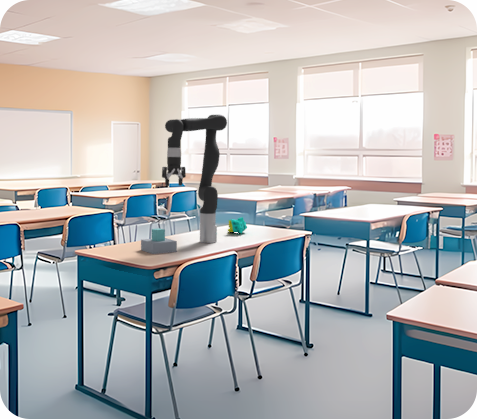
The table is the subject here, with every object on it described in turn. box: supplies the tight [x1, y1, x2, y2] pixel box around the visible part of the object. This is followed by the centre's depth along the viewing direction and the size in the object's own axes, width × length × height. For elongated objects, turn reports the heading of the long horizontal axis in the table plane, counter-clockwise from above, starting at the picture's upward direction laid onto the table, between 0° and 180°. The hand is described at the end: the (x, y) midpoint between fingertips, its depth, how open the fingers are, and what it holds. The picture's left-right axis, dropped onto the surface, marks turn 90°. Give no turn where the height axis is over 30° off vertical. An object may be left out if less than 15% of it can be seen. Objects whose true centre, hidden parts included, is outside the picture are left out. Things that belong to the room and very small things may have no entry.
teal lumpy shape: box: [227, 216, 248, 234], centre depth 356 cm, size 15×12×13 cm
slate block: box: [140, 237, 178, 255], centre depth 285 cm, size 14×14×6 cm
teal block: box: [151, 227, 166, 241], centre depth 284 cm, size 5×5×6 cm
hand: (173, 185), depth 296 cm, fingers open, 8 cm apart
